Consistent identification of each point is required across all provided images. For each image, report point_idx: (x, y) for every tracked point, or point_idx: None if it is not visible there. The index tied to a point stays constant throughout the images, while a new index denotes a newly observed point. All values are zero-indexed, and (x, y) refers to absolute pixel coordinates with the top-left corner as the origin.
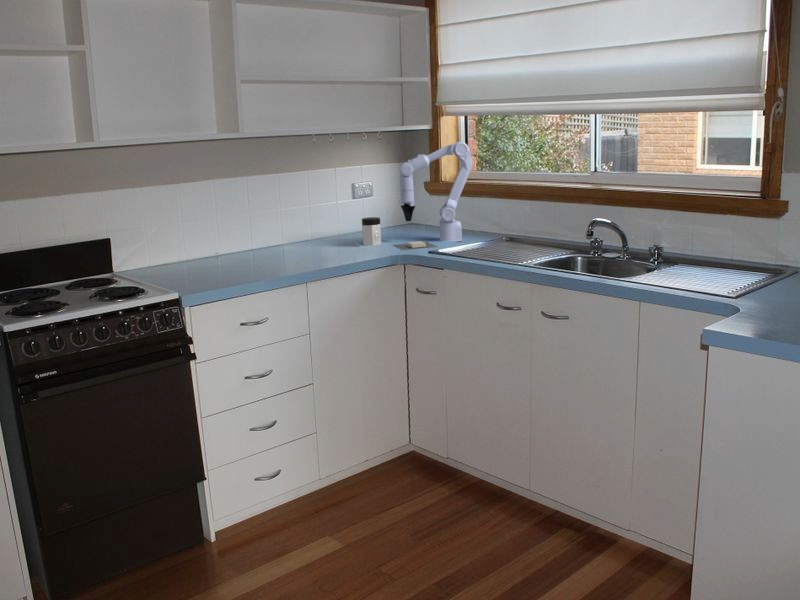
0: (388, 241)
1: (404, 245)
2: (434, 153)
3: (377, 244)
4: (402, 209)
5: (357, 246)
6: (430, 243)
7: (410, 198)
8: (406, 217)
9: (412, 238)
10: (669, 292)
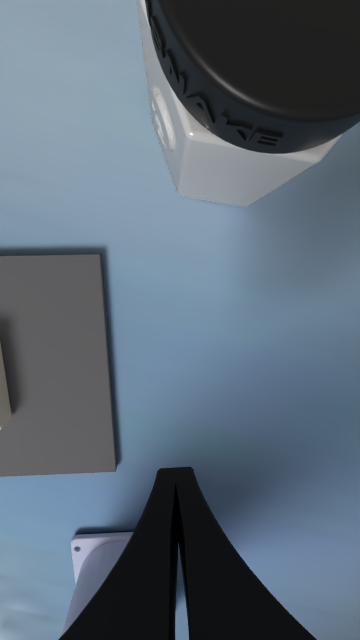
0: (320, 285)
1: (36, 322)
2: None
3: (165, 159)
4: (254, 591)
5: None
6: (44, 474)
7: None
8: (149, 503)
9: (340, 440)
10: None
